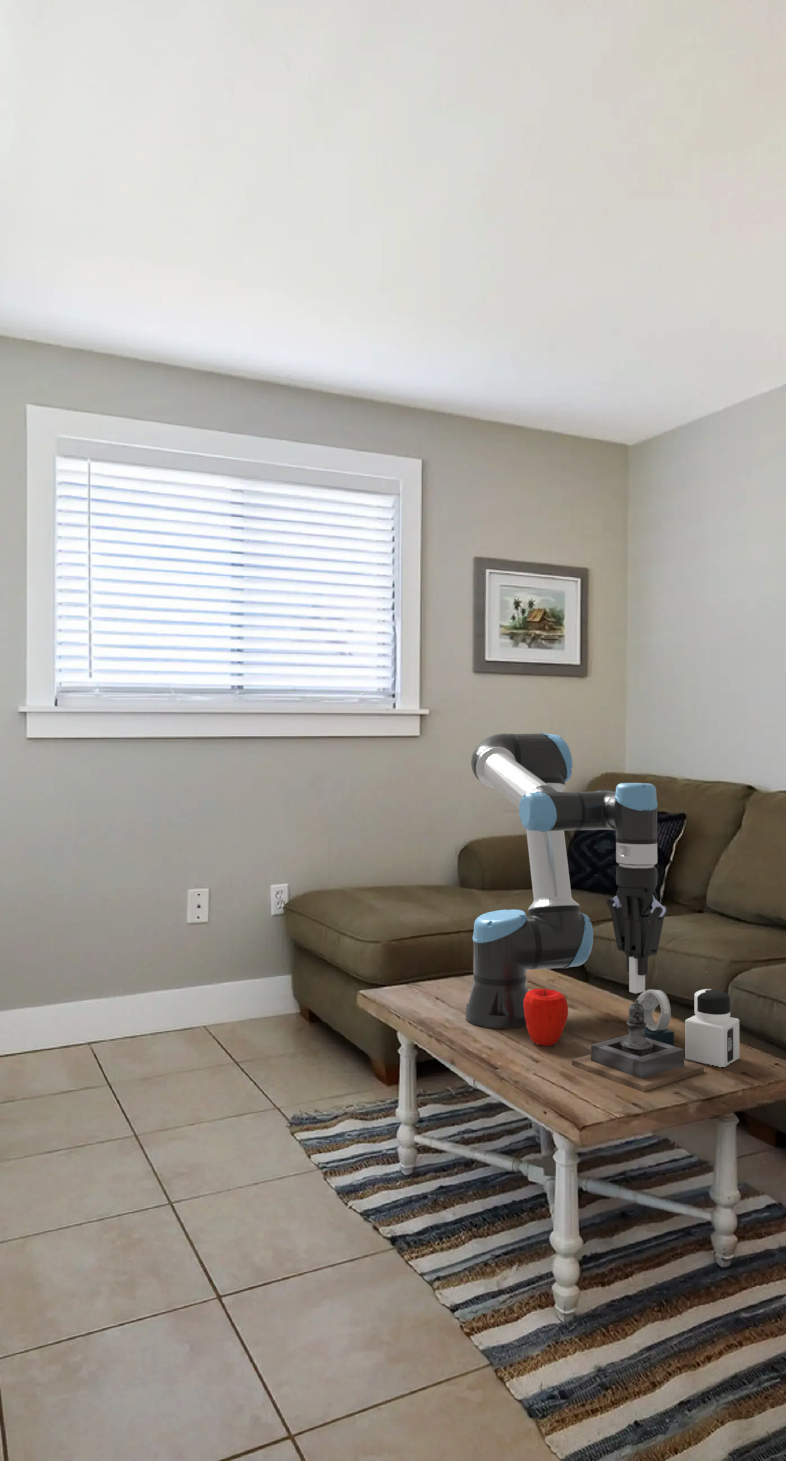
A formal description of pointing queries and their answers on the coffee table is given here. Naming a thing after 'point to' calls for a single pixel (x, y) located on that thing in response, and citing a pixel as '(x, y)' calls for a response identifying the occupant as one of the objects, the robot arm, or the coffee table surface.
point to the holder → (638, 1064)
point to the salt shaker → (636, 1032)
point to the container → (712, 1030)
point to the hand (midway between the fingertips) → (637, 991)
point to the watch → (659, 1031)
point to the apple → (545, 1015)
